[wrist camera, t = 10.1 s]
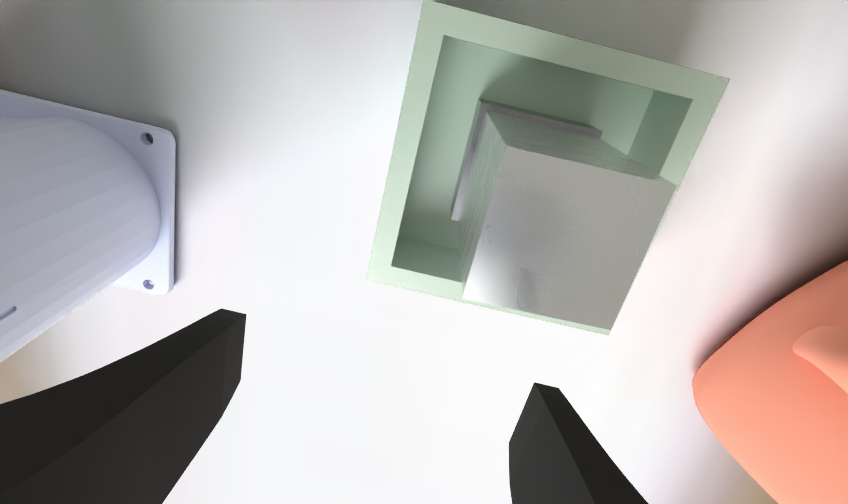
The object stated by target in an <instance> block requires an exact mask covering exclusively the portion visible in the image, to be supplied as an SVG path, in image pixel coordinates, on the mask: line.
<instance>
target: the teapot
mask: <svg viewBox="0 0 848 504" xmlns="http://www.w3.org/2000/svg"><path fill="white" fill-rule="evenodd" d="M692 386H693V394H694V399H695V403H696V406H697V408H698V410H699V412H700V414H701V416H702V418H703V420H704V421H705V422H706V424H707V425H708V427H709V428H710V429H711V431H712V432H713V433H714V435H715V436H716V437H717V438H718V440H719V441H720V442H721V443H722V444H723V446H724V447H725V448H726V449H727V450H728V451H729V453H730V454H731V455H732V456H733V457H734V458H735V459H736V460H737V462H738V463H739V464H740V465H741V466H742V467H743V468H744V469H745V470H746V471H747V472H748V473H749V474H750V475H751V476H752V477H753V478H754V479H755V480H756V481H757V482H758V483H759V484H760V485H761V486H762V488H763V489H764V490H765V491H766V492H767V493H768V494H769V495H770V496H771V497H772V498H773V499H774V500H775V501H776V502H778V503H779V504H848V260H847V261H845V262H843V263H841V264H839V265H837V266H836V267H834V268H832V269H831V270H829V271H827V272H825V273H824V274H822V275H820V276H818V277H817V278H815V279H813V280H812V281H810V282H808V283H807V284H805V285H803V286H802V287H800V288H798V289H797V290H795V291H794V292H792V293H790V294H789V295H787V296H786V297H784V298H783V299H781V300H780V301H778V302H777V303H775V304H774V305H772V306H771V307H769V308H768V309H767V310H765V311H764V312H763V313H761V314H760V315H759V316H757V317H756V318H755V319H754V320H752V321H751V322H750V323H749V324H747V325H746V326H745V327H744V328H742V329H741V330H740V331H739V332H738V333H737V334H735V335H734V336H733V337H732V338H731V339H730V340H728V341H727V342H726V343H725V344H724V345H723V346H722V347H720V348H719V349H718V350H717V351H716V352H715V353H714V354H713V355H712V356H711V357H709V358H708V359H707V360H706V361H705V362H704V363H703V364H702V366H701V367H700V368H699V369H698V370H697V372H696V373H695V375H694V377H693V380H692Z"/></svg>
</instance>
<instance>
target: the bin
mask: <svg viewBox="0 0 848 504" xmlns="http://www.w3.org/2000/svg"><path fill="white" fill-rule="evenodd" d="M729 80H730V79H729V78H725V77H721V76H717V75H713V74H709V73H706V72H702V71H698V70H694V69H690V68H687V67H683V66H679V65H675V64H671V63H667V62H664V61H660V60H656V59H652V58H648V57H645V56H641V55H637V54H633V53H629V52H625V51H622V50H618V49H614V48H610V47H606V46H602V45H599V44H595V43H591V42H587V41H583V40H580V39H576V38H572V37H568V36H564V35H560V34H557V33H553V32H549V31H545V30H541V29H538V28H534V27H530V26H526V25H522V24H518V23H515V22H511V21H507V20H503V19H499V18H496V17H492V16H488V15H484V14H480V13H476V12H473V11H469V10H465V9H461V8H457V7H454V6H450V5H446V4H442V3H438V2H434V1H431V0H423V5H422V10H421V15H420V20H419V25H418V30H417V34H416V39H415V44H414V49H413V54H412V59H411V63H410V68H409V73H408V78H407V83H406V88H405V93H404V97H403V102H402V107H401V112H400V117H399V122H398V127H397V131H396V136H395V141H394V146H393V151H392V156H391V160H390V165H389V170H388V175H387V180H386V185H385V190H384V194H383V199H382V204H381V209H380V214H379V219H378V224H377V228H376V233H375V238H374V243H373V248H372V253H371V257H370V262H369V267H368V272H367V277H366V280H368V281H372V282H376V283H381V284H385V285H390V286H394V287H398V288H403V289H407V290H412V291H416V292H420V293H425V294H429V295H433V296H438V297H442V298H447V299H451V300H455V301H460V302H464V303H468V304H473V305H477V306H482V307H486V308H490V309H495V310H499V311H503V312H508V313H512V314H517V315H521V316H525V317H530V318H534V319H538V320H543V321H547V322H552V323H556V324H560V325H565V326H569V327H573V328H578V329H582V330H587V331H591V332H595V333H600V334H604V335H609V333H610V331H611V330H607V329H602V328H598V327H593V326H588V325H584V324H579V323H575V322H570V321H565V320H561V319H556V318H551V317H547V316H542V315H538V314H533V313H528V312H524V311H519V310H514V309H510V308H505V307H501V306H496V305H491V304H487V303H482V302H477V301H473V300H468V299H464V298H462V286H461V269H460V252H459V235H458V221H456V220H452V219H451V203H452V199H453V196H454V192H455V188H456V184H457V180H458V176H459V172H460V168H461V164H462V160H463V156H464V153H465V149H466V145H467V141H468V137H469V133H470V129H471V125H472V121H473V117H474V113H475V110H476V106H477V102H478V98H480V99H484V100H488V101H493V102H497V103H501V104H505V105H510V106H514V107H518V108H522V109H526V110H531V111H535V112H539V113H543V114H548V115H552V116H556V117H560V118H564V119H569V120H573V121H577V122H581V123H586V124H590V125H592V126H594V127H595V128H597V129H599V130H601V131H603V133H602V135H601V138H600V139H601V140H603V141H604V142H606V143H608V144H609V145H611V146H613V147H614V148H616V149H618V150H619V151H621V152H623V153H624V154H626V155H627V156H629V157H631V158H632V159H634V160H636V161H637V162H639V163H641V164H642V165H644V166H646V167H647V168H649V169H650V170H652V171H654V172H655V173H657V174H659V175H660V176H662V177H664V178H665V179H667V180H669V181H670V182H672V183H674V184H675V185H677V187H676V189H675V191H674V193H673V195H672V198H671V200H670V202H669V204H668V206H667V208H666V211H665V213H664V215H663V217H662V219H661V222H660V224H659V226H658V228H657V230H656V233H655V235H654V237H653V239H652V241H651V243H650V246H649V248H648V250H647V252H646V254H645V257H646V255H647V253H648V251H649V249H650V247H651V245H652V242H653V240H654V238H655V236H656V234H657V232H658V230H659V228H660V226H661V223H662V221H663V219H664V217H665V215H666V213H667V211H668V209H669V207H670V205H671V202H672V200H673V198H674V196H675V194H676V192H677V190H678V188H679V186H680V183H681V181H682V179H683V177H684V175H685V173H686V171H687V169H688V167H689V164H690V162H691V160H692V158H693V156H694V154H695V152H696V150H697V148H698V146H699V143H700V141H701V139H702V137H703V135H704V133H705V131H706V129H707V127H708V124H709V122H710V120H711V118H712V116H713V114H714V112H715V110H716V108H717V106H718V103H719V101H720V99H721V97H722V95H723V93H724V91H725V89H726V87H727V84H728V82H729ZM645 257H644V259H645ZM644 259H643V261H644ZM643 261H642V263H643ZM642 263H641V265H640V267H639V270H640V268H641V266H642ZM639 270H638V272H639ZM638 272H637V274H638ZM637 274H636V276H637ZM636 276H635V278H636ZM635 278H634V280H635ZM633 282H634V281H633ZM632 285H633V283H632ZM632 285H631V287H632ZM631 287H630V289H631ZM630 289H629V291H630ZM628 293H629V292H628ZM627 295H628V294H627ZM626 297H627V296H626ZM625 299H626V298H625ZM624 301H625V300H624ZM623 303H624V302H623ZM622 306H623V305H622ZM621 308H622V307H621ZM620 310H621V309H620ZM619 312H620V311H619ZM618 314H619V313H618ZM613 325H614V324H613Z"/></svg>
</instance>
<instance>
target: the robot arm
mask: <svg viewBox="0 0 848 504" xmlns="http://www.w3.org/2000/svg"><path fill="white" fill-rule="evenodd" d="M147 133H149V134H150V135H151V136H152V137H153V143H150V142H149V141H148V140H147V138H146V134H147ZM175 148H176V143H175V138H174V136H173V135H172V133H171V132H169V131H168V130H166V129H164V128H160V127H156V126H152V125H147V124H143V123H139V122H135V121H131V120H127V119H122V118H118V117H114V116H110V115H106V114H102V113H97V112H93V111H89V110H85V109H81V108H77V107H72V106H68V105H64V104H60V103H56V102H52V101H47V100H43V99H39V98H35V97H31V96H27V95H22V94H18V93H14V92H10V91H6V90H2V89H0V362H2V361H3V360H5V359H6V358H8V357H9V356H10V355H12V354H13V353H15V352H16V351H17V350H19V349H20V348H22V347H23V346H24V345H26V344H27V343H29V342H30V341H32V340H33V339H34V338H36V337H37V336H39V335H40V334H41V333H43V332H44V331H46V330H47V329H48V328H50V327H51V326H53V325H54V324H56V323H57V322H58V321H60V320H61V319H63V318H64V317H65V316H67V315H68V314H70V313H71V312H72V311H74V310H75V309H77V308H78V307H80V306H81V305H82V304H84V303H85V302H87V301H88V300H89V299H91V298H92V297H94V296H95V295H96V294H98V293H99V292H101V291H102V290H104V289H105V288H106V287H108V286H109V285H115V286H119V287H124V288H128V289H133V290H137V291H142V292H146V293H151V294H155V295H161V296H164V295H167V294H168V293H169V292H170V291H171V290H172V289H173V286H174V218H175ZM148 280H150V281H152V282H153V284H154V286H153V285H151V284H150V283H149V282H148ZM245 323H246V314H242V313H238V312H234V311H230V310H225V309H220V310H218V311H215V312H213V313H211V314H210V315H208V316H206V317H204V318H202V319H200V320H198V321H196V322H194V323H192V324H191V325H189V326H187V327H185V328H183V329H181V330H179V331H177V332H175V333H173V334H171V335H169V336H167V337H165V338H163V339H161V340H159V341H157V342H155V343H153V344H152V345H150V346H148V347H146V348H143V349H141V350H139V351H137V352H135V353H132V354H130V355H128V356H126V357H124V358H122V359H119V360H117V361H115V362H113V363H111V364H108V365H106V366H104V367H102V368H100V369H97V370H95V371H92V372H90V373H88V374H85V375H83V376H80V377H78V378H75V379H73V380H70V381H67V382H65V383H62V384H59V385H56V386H54V387H51V388H48V389H46V390H43V391H40V392H37V393H34V394H31V395H28V396H25V397H22V398H19V399H16V400H12V401H9V402H6V403H3V404H0V504H162V503H163V502H164V500H165V499H166V497H167V496H168V494H169V493H170V491H171V490H172V489H173V487H174V486H175V484H176V483H177V481H178V480H179V478H180V477H181V476H182V474H183V473H184V471H185V470H186V468H187V467H188V465H189V464H190V462H191V461H192V460H193V458H194V457H195V455H196V454H197V452H198V451H199V449H200V448H201V447H202V445H203V444H204V442H205V441H206V439H207V438H208V436H209V435H210V433H211V432H212V430H213V429H214V427H215V426H216V425H217V423H218V422H219V420H220V419H221V417H222V415H223V413H224V411H225V409H226V408H227V406H228V404H229V402H230V400H231V398H232V396H233V394H234V392H235V390H236V388H237V386H238V384H239V382H240V379H241V368H242V356H243V345H244V334H245ZM509 476H510V490H511V497H512V504H648V503H647V502H646V501H645V499H644V498H643V497H642V496H641V495H640V493H639V492H638V491H637V490H636V489H635V488H634V486H633V485H632V484H631V483H630V482H629V480H628V479H627V478H626V477H625V476H624V474H623V473H622V472H621V471H620V469H619V468H618V467H617V466H616V464H615V463H614V462H613V461H612V459H611V458H610V457H609V455H608V454H607V453H606V452H605V450H604V449H603V448H602V446H601V445H600V444H599V442H598V441H597V440H596V438H595V437H594V436H593V434H592V433H591V432H590V430H589V429H588V427H587V426H586V425H585V423H584V422H583V421H582V419H581V418H580V417H579V415H578V414H577V412H576V411H575V410H574V408H573V407H572V405H571V404H570V403H569V401H568V400H567V399H566V397H565V396H564V395H563V393H562V392H561V391H560V390H559V388H556V387H551V386H547V385H543V384H539V383H534V385H533V387H532V389H531V392H530V394H529V396H528V399H527V401H526V404H525V406H524V408H523V411H522V413H521V416H520V418H519V420H518V423H517V425H516V427H515V430H514V432H513V435H512V437H511V439H510V442H509Z"/></svg>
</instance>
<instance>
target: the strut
mask: <svg viewBox="0 0 848 504" xmlns="http://www.w3.org/2000/svg"><path fill="white" fill-rule="evenodd" d="M602 133H603V131H601V130H599V129H597V128H595V127H594V126H592V125H590V124H586V123H581V122H577V121H573V120H569V119H564V118H560V117H556V116H552V115H548V114H543V113H539V112H535V111H531V110H526V109H522V108H518V107H514V106H510V105H505V104H501V103H497V102H493V101H488V100H484V99H480V98H478V102H477V106H476V110H475V113H474V117H473V121H472V125H471V129H470V133H469V137H468V141H467V145H466V149H465V153H464V156H463V160H462V164H461V168H460V172H459V176H458V180H457V184H456V188H455V192H454V196H453V199H452V203H451V219H452V220H456V221H458V235H459V252H460V269H461V286H462V298H464V299H468V300H473V301H477V302H482V303H487V304H491V305H496V306H501V307H505V308H510V309H514V310H519V311H524V312H528V313H533V314H538V315H542V316H547V317H551V318H556V319H561V320H565V321H570V322H575V323H579V324H584V325H588V326H593V327H598V328H602V329H607V330H611V329H612V327H613V324H614V322H615V320H616V318H617V316H618V313H619V311H620V309H621V307H622V305H623V302H624V300H625V298H626V296H627V294H628V292H629V289H630V287H631V285H632V283H633V281H634V278H635V276H636V274H637V272H638V270H639V267H640V265H641V263H642V261H643V259H644V257H645V254H646V252H647V250H648V248H649V246H650V243H651V241H652V239H653V237H654V235H655V233H656V230H657V228H658V226H659V224H660V222H661V219H662V217H663V215H664V213H665V211H666V208H667V206H668V204H669V202H670V200H671V198H672V195H673V193H674V191H675V189H676V187H677V185H675V184H674V183H672V182H670V181H669V180H667V179H665V178H664V177H662V176H660V175H659V174H657V173H655V172H654V171H652V170H650V169H649V168H647V167H646V166H644V165H642V164H641V163H639V162H637V161H636V160H634V159H632V158H631V157H629V156H627V155H626V154H624V153H623V152H621V151H619V150H618V149H616V148H614V147H613V146H611V145H609V144H608V143H606V142H604V141H603V140H601V139H600V138H601V135H602Z"/></svg>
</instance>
